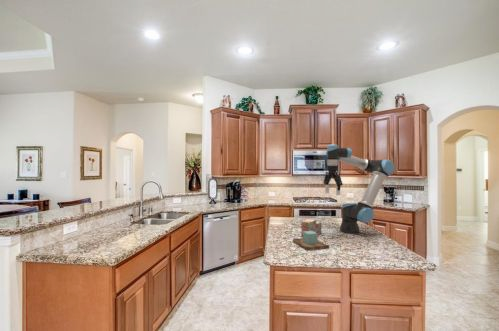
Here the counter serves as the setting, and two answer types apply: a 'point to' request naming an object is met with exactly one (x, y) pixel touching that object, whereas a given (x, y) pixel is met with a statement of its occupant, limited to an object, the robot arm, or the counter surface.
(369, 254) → the counter surface
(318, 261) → the counter surface
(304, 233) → the cube
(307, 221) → the stack of blocks
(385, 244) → the counter surface
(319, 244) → the board
